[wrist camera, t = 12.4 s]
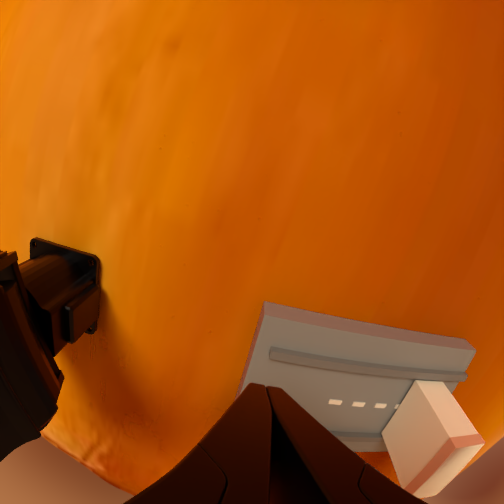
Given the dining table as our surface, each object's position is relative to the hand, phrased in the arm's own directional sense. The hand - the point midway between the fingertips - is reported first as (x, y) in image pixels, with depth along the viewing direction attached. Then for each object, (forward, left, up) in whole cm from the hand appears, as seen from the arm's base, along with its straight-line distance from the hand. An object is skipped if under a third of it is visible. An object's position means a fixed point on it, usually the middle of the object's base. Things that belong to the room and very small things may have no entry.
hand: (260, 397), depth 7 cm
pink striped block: (+15, -9, -11) cm, 21 cm away
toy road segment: (+10, -9, -13) cm, 19 cm away
